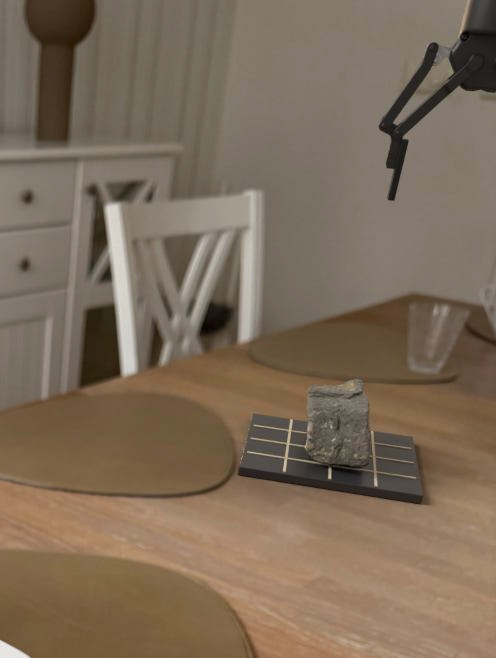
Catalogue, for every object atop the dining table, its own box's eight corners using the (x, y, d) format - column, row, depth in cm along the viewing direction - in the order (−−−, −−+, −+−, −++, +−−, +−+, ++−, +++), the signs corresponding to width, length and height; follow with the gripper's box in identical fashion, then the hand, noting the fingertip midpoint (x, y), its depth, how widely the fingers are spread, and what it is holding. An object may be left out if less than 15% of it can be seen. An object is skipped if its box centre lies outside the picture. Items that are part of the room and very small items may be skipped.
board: (410, 444, 124) (413, 435, 123) (421, 504, 107) (423, 494, 106) (251, 420, 128) (252, 411, 127) (237, 474, 111) (239, 465, 111)
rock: (272, 386, 121) (352, 368, 121) (276, 438, 125) (354, 420, 124) (316, 429, 106) (408, 409, 106) (319, 487, 110) (408, 468, 109)
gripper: (621, 2, 107) (554, 211, 119) (385, -11, 112) (342, 191, 124) (638, -1, 101) (566, 219, 112) (388, -14, 106) (343, 198, 117)
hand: (449, 205), depth 118 cm, fingers open, 13 cm apart
